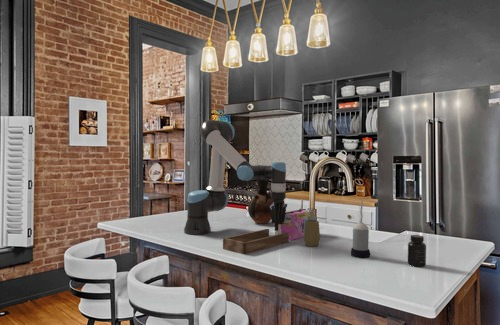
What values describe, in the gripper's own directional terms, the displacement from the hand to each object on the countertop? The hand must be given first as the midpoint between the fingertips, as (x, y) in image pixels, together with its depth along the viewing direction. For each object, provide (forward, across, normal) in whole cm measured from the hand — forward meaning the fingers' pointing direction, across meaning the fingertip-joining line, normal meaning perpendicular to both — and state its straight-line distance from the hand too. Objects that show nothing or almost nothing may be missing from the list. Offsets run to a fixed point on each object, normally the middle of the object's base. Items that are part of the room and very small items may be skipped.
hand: (277, 236), depth 191 cm
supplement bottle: (+2, +6, -68) cm, 68 cm away
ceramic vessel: (+2, +32, +38) cm, 50 cm away
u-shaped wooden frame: (+2, -17, 0) cm, 17 cm away
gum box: (+2, +16, -2) cm, 16 cm away
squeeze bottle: (+2, +3, -19) cm, 19 cm away
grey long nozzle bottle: (+2, +3, -45) cm, 45 cm away
